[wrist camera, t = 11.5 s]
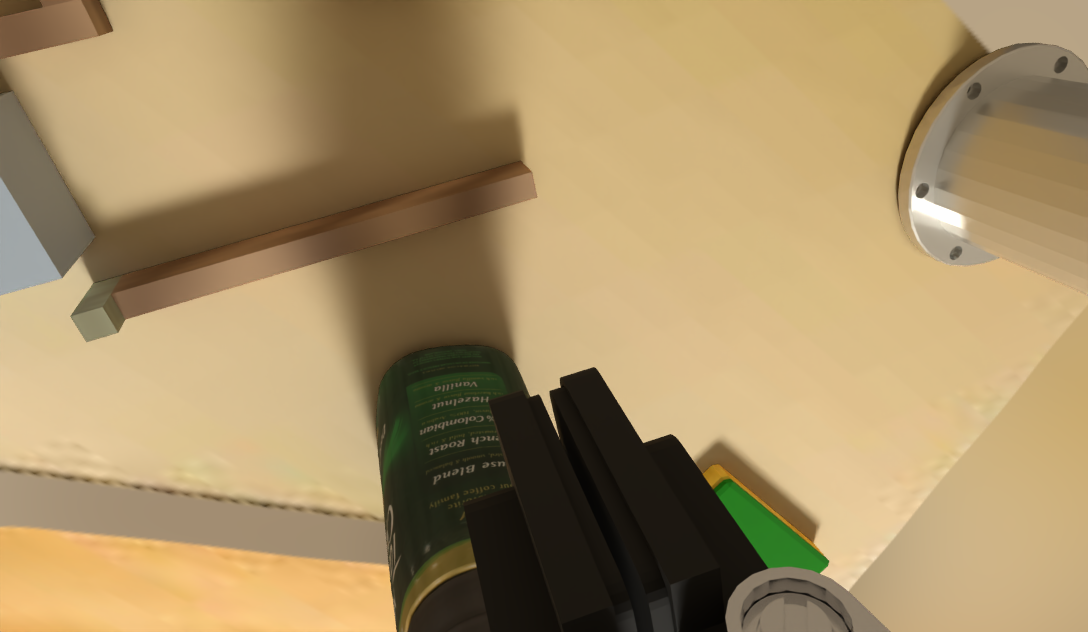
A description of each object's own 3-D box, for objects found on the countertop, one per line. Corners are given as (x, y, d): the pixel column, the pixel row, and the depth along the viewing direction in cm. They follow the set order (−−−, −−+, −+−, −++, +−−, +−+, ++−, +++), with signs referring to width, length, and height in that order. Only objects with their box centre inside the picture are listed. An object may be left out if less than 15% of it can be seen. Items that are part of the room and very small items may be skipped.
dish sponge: (743, 602, 53) (760, 628, 51) (635, 530, 46) (650, 556, 44) (811, 540, 52) (832, 564, 50) (712, 457, 45) (731, 480, 43)
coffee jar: (366, 345, 34) (408, 675, 18) (521, 331, 36) (678, 616, 21) (377, 497, 38) (418, 873, 23) (515, 477, 41) (641, 806, 25)
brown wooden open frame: (421, -289, 24) (434, -321, 21) (526, 184, 33) (544, 205, 30) (-184, -182, 21) (-258, -203, 18) (107, 307, 30) (86, 342, 27)
